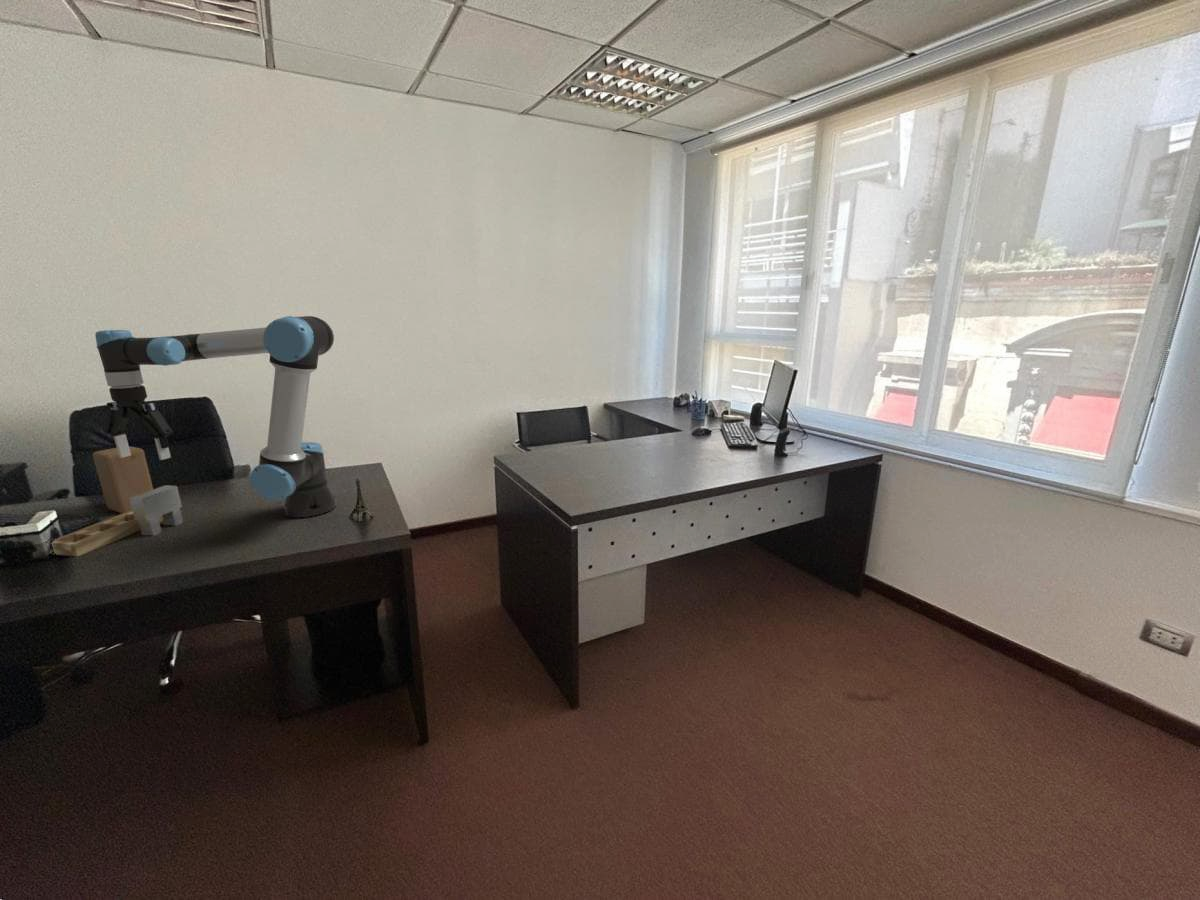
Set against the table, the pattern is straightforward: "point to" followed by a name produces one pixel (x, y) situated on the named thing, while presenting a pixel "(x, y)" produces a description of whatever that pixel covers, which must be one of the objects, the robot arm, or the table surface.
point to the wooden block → (122, 477)
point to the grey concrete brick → (157, 509)
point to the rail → (97, 535)
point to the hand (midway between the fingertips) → (145, 457)
